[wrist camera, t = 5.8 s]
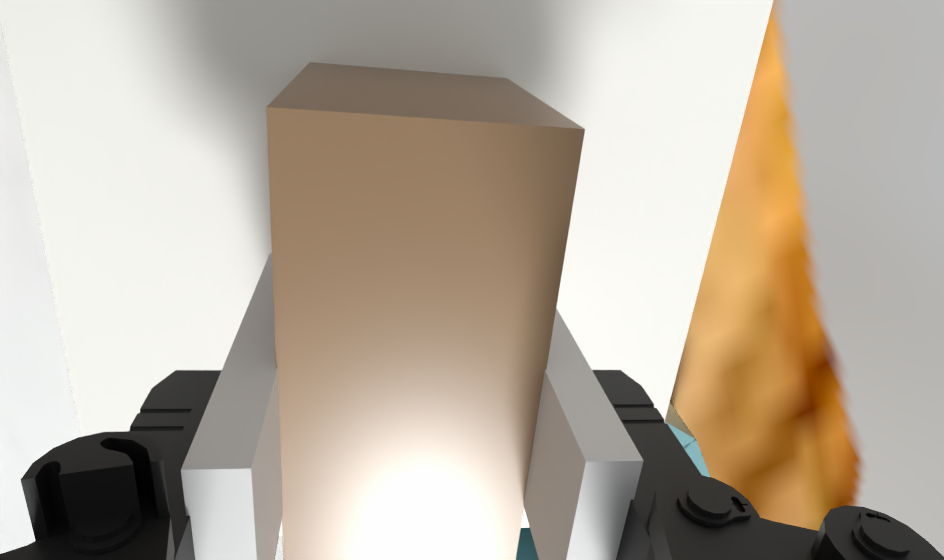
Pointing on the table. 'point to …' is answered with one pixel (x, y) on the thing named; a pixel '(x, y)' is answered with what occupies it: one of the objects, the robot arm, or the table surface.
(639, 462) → the robot arm
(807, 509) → the table surface
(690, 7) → the cover board
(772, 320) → the table surface
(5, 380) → the table surface
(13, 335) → the table surface
